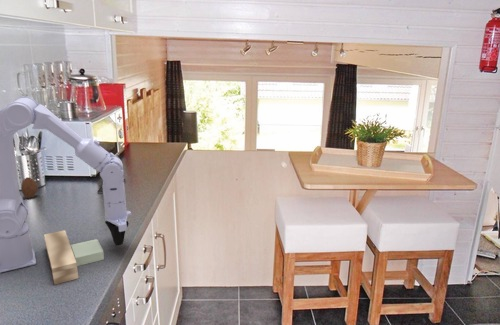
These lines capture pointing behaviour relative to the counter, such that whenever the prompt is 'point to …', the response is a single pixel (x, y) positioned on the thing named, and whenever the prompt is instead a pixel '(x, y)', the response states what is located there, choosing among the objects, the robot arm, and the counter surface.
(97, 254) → the pale green slab
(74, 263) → the overhang shelf
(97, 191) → the phone
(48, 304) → the counter surface
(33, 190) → the coconut
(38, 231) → the counter surface
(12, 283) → the counter surface
